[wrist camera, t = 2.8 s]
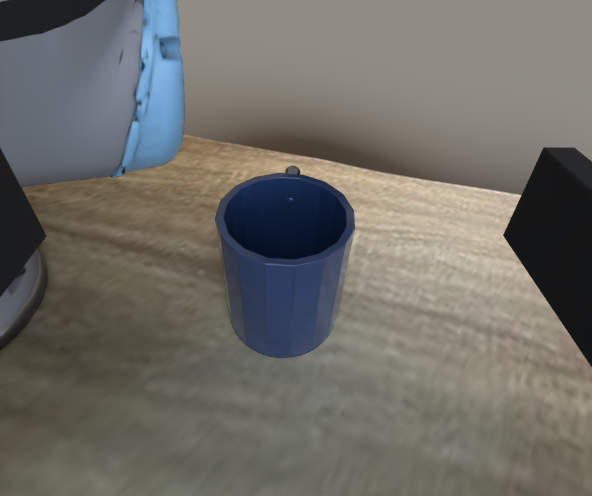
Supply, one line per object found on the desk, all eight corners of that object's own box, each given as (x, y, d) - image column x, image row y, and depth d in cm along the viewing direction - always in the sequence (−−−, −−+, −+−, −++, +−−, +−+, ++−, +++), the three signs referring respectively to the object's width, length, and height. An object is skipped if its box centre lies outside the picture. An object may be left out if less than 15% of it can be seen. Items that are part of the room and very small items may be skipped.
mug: (335, 362, 28) (357, 270, 20) (220, 353, 28) (201, 259, 20) (334, 245, 36) (350, 150, 28) (245, 238, 36) (238, 142, 28)
